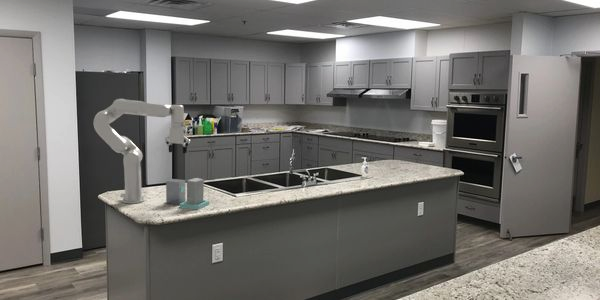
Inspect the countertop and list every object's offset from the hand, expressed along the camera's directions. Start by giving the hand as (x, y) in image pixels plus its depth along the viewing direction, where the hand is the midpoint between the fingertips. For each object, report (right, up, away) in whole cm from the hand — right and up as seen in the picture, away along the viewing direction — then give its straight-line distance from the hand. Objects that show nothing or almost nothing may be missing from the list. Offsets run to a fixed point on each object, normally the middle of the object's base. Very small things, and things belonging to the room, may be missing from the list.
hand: (177, 152), depth 299 cm
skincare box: (+13, -32, -8) cm, 35 cm away
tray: (+12, -32, -8) cm, 35 cm away
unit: (-1, -31, -2) cm, 31 cm away
